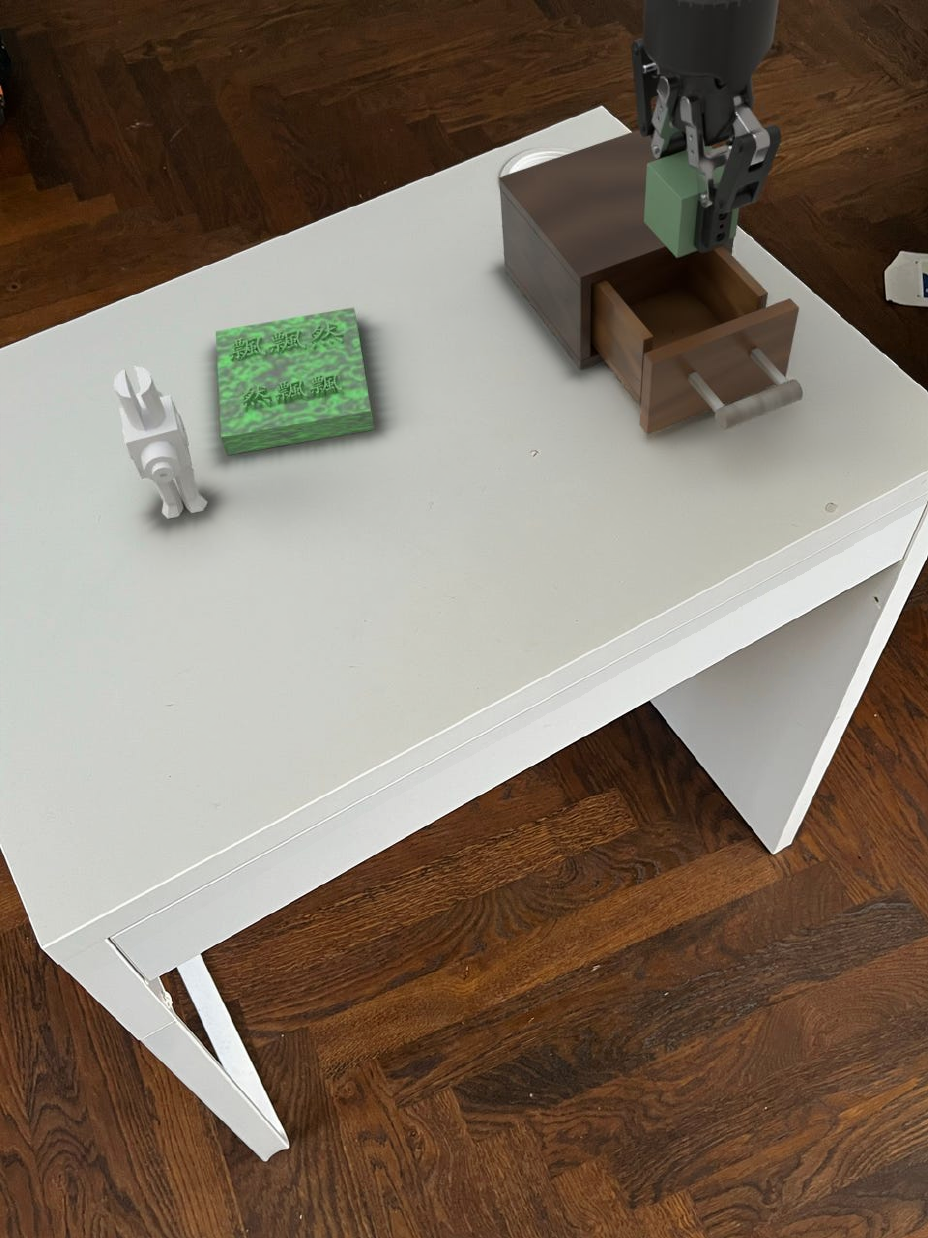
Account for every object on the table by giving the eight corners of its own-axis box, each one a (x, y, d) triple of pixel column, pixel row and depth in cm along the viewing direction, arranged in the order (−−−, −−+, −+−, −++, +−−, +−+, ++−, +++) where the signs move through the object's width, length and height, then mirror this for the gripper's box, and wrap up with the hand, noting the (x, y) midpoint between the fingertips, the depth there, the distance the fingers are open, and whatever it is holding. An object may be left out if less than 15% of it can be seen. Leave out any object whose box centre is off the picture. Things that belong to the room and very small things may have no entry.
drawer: (827, 427, 82) (845, 353, 77) (685, 484, 80) (692, 413, 75) (697, 284, 92) (705, 210, 86) (567, 332, 90) (567, 260, 84)
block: (700, 201, 79) (707, 141, 76) (735, 236, 77) (743, 177, 73) (643, 221, 79) (646, 163, 75) (676, 258, 76) (681, 199, 72)
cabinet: (724, 315, 91) (736, 220, 84) (580, 369, 89) (580, 277, 82) (639, 221, 99) (643, 127, 92) (504, 269, 97) (498, 177, 89)
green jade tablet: (227, 455, 87) (219, 432, 85) (221, 349, 94) (214, 326, 92) (374, 429, 87) (369, 405, 85) (357, 325, 94) (352, 302, 92)
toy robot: (200, 456, 87) (152, 333, 77) (217, 530, 83) (168, 409, 73) (149, 470, 87) (94, 348, 77) (163, 545, 82) (107, 425, 72)
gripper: (848, -1, 60) (797, 267, 74) (706, -105, 68) (684, 155, 82) (723, 40, 59) (695, 305, 73) (593, -71, 67) (590, 187, 81)
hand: (689, 224), depth 77 cm, fingers closed on block, 4 cm apart
